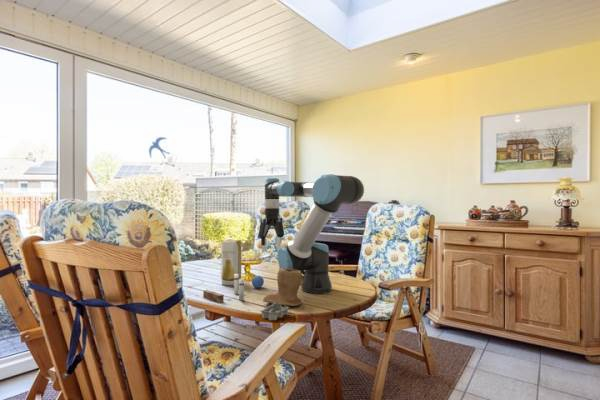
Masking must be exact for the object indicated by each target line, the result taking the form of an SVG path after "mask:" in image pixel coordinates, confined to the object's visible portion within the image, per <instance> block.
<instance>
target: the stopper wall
mask: <svg viewBox="0 0 600 400" xmlns="http://www.w3.org/2000/svg"><path fill="white" fill-rule="evenodd" d="M202 291H203V295H202V296H203V297H202V298H204V299H207V300H210V301H213V302H216V303H218V304H221V303H224V300H225V299H224V298H225V297H224V294H222V293H219V292H216V291H212V290H209V289H206V290H202Z"/></svg>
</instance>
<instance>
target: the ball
mask: <svg viewBox="0 0 600 400" xmlns="http://www.w3.org/2000/svg"><path fill="white" fill-rule="evenodd" d="M264 283H265V281H264V277H262V276H261V275H255V276H254V277H253V278H252V279H251V284H252V286H253V287H254V288H257V289H261V287H263V286H264Z"/></svg>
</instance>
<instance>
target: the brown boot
mask: <svg viewBox="0 0 600 400" xmlns="http://www.w3.org/2000/svg"><path fill="white" fill-rule="evenodd" d="M276 279H277V289H278V290H277V293H269V294H266V295H265V296H264V297H263V300H262V301H263V302H264V303H269V304H272V303H274V302H276V301H278V303H280V304H281V305H282V306H286V307H287V306H288V307H296V306H300V304H302V302H303V301H302V299H301V298H299V297H298V293H299V289H300V287H301V286H300V285H301V284H302V279H303V274H302V273H301V272H300V271H299V270H294V269H286V268H280V269H278V271H277V277H276Z"/></svg>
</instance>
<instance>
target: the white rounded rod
mask: <svg viewBox="0 0 600 400" xmlns="http://www.w3.org/2000/svg"><path fill="white" fill-rule="evenodd" d="M244 288H245V279H244V278H243V279H242V278H241V279H240V280H239V294H238V301H240V302H244V299H245V298H244V296H245V295H244V293H245V289H244Z"/></svg>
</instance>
